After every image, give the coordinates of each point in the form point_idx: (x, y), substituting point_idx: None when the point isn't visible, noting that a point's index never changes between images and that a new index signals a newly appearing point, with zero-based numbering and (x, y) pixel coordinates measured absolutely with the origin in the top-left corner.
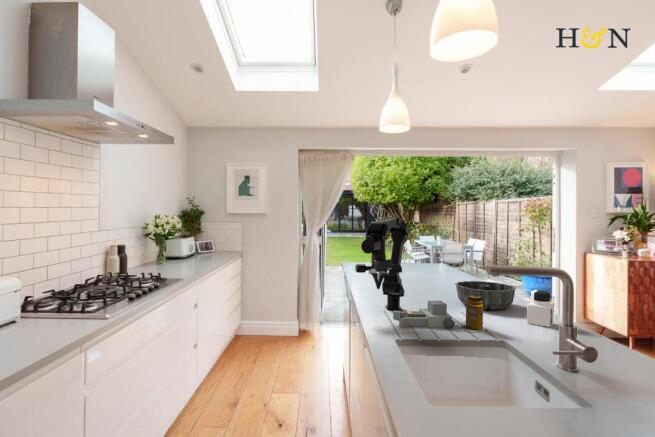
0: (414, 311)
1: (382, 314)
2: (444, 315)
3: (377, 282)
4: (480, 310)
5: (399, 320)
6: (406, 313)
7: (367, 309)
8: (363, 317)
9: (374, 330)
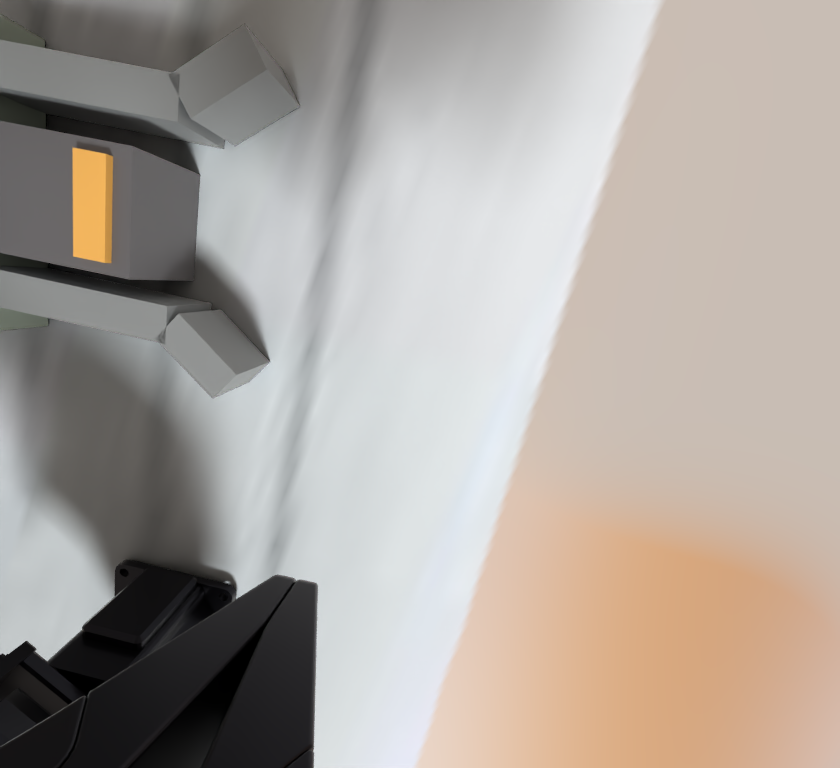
0: (28, 250)
1: (320, 493)
2: None
3: (255, 706)
4: None
5: (272, 74)
6: (133, 193)
7: (395, 649)
8: (518, 447)
9: (580, 24)
